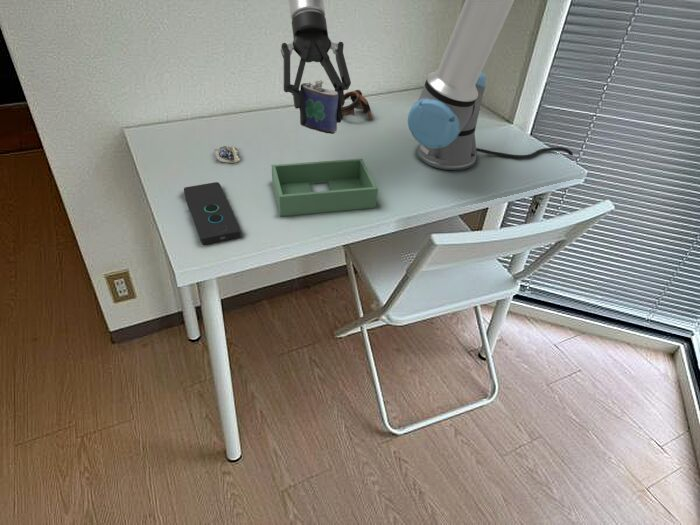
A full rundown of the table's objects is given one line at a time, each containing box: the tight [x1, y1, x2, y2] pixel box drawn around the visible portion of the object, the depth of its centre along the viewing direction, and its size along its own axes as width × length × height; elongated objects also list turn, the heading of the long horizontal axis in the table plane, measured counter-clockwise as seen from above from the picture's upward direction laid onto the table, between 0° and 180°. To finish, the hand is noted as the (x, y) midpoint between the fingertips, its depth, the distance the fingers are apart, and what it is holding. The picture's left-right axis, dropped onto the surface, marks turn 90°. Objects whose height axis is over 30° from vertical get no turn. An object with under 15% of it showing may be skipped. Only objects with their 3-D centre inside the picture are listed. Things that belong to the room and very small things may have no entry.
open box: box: [271, 158, 379, 217], centre depth 116 cm, size 22×14×5 cm, turn 104°
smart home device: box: [183, 181, 242, 246], centre depth 109 cm, size 8×2×20 cm
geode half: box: [213, 145, 241, 164], centre depth 129 cm, size 7×8×2 cm
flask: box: [299, 79, 339, 135], centre depth 111 cm, size 9×3×11 cm, turn 61°
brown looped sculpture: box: [341, 89, 372, 121], centre depth 151 cm, size 12×10×8 cm
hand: (322, 121), depth 110 cm, fingers closed on flask, 7 cm apart
